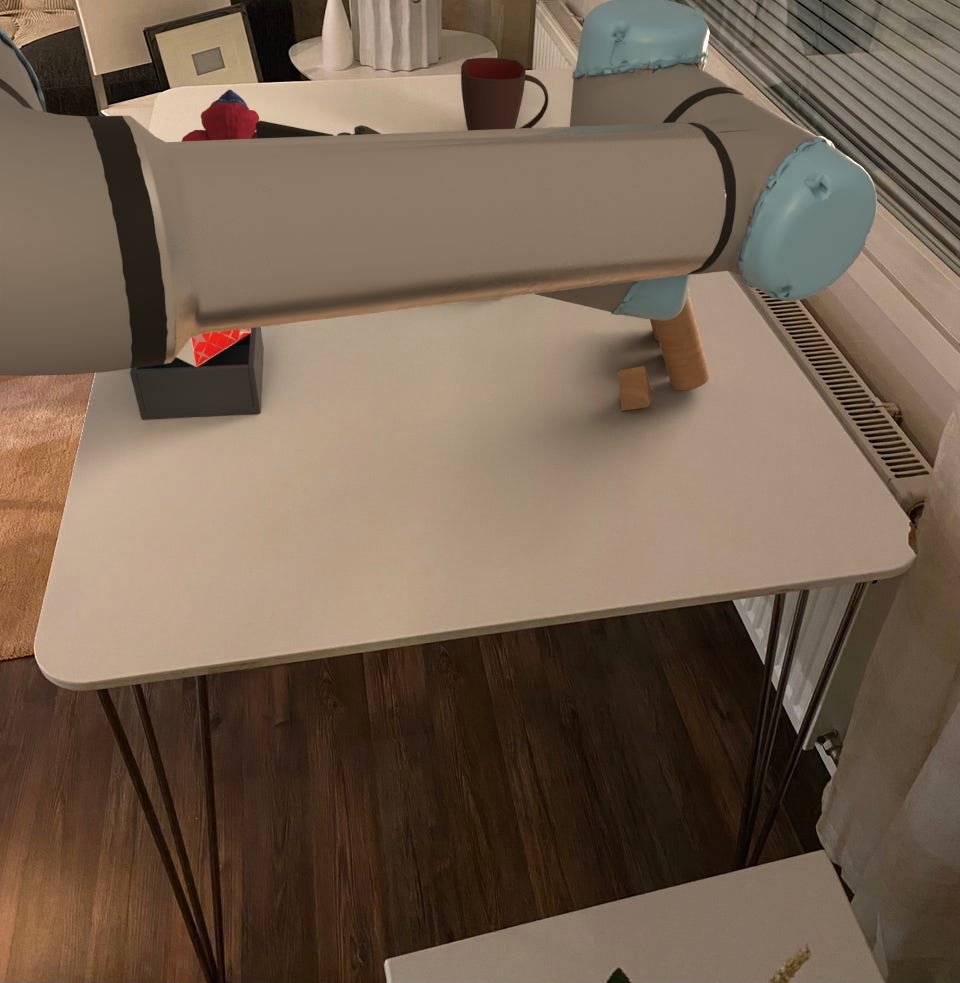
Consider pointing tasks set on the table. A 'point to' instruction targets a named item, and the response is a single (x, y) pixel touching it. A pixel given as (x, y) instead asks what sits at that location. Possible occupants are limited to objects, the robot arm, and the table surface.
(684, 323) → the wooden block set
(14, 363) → the robot arm
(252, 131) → the figurine
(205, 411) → the bin
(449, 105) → the table surface
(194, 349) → the red patterned cube
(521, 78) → the cup
